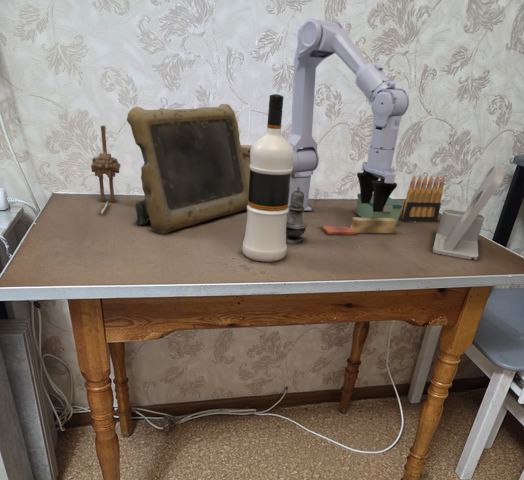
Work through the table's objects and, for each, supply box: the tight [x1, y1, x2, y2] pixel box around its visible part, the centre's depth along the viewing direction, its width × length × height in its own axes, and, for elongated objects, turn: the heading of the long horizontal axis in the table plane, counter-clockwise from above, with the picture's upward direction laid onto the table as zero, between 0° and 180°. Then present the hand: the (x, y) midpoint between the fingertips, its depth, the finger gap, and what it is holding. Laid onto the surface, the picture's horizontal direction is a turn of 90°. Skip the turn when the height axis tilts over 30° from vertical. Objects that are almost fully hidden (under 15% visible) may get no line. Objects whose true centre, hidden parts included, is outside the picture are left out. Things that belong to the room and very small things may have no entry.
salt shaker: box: [286, 186, 308, 245], centre depth 108 cm, size 6×6×12 cm
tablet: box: [126, 103, 249, 235], centre depth 115 cm, size 33×14×25 cm, turn 148°
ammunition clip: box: [399, 174, 446, 222], centre depth 131 cm, size 11×2×12 cm, turn 104°
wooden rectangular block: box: [321, 217, 397, 236], centre depth 120 cm, size 18×5×3 cm, turn 102°
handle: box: [240, 144, 252, 190], centre depth 132 cm, size 5×6×15 cm
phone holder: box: [432, 165, 504, 261], centre depth 112 cm, size 17×10×18 cm, turn 159°
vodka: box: [241, 93, 294, 263], centre depth 94 cm, size 9×9×30 cm
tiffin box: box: [355, 193, 403, 226], centre depth 131 cm, size 8×12×6 cm, turn 12°
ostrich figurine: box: [90, 124, 121, 214], centre depth 119 cm, size 17×7×18 cm, turn 7°
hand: (371, 207), depth 118 cm, fingers open, 7 cm apart
